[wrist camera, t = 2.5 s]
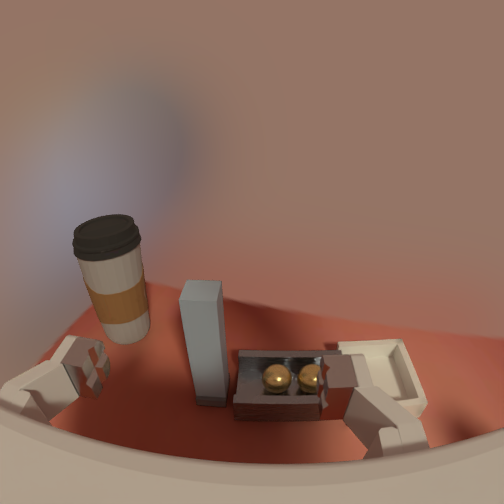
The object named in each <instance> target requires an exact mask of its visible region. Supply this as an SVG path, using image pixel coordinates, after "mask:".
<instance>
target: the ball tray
mask: <svg viewBox="0 0 504 504" xmlns="http://www.w3.org/2000/svg"><path fill="white" fill-rule="evenodd" d="M336 350H341V351H342V354H363V355H364V356H365V359H366V363H367V366H368V369H369V372H370V376H371V379H372V383H373V386H378V387H379V388H380V389H382V390H383V391H384V392H385V393H386V394H388V395H389V396H390V397H391V398H393V399H394V400H395V401H396V402H397V403H399V404H400V405H401V406H402V407H404V408H405V409H406V410H407V411H408V412H410V413H411V414H412V415H413V416H415V417H416V418H417V417H420V415H421V414H422V412H423V410H424V409H425V407H426V405H427V403H428V402H427V399H426V397H425V394H424V391H423V389H422V386H421V384H420V381H419V379H418V376H417V374H416V371H415V369H414V367H413V364H412V362H411V359H410V357H409V355H408V352H407V350H406V348H405V345H404V343H403V341H402V339H389V340H371V341H348V342H338V344H337V349H336Z"/></svg>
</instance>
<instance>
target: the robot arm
mask: <svg viewBox="0 0 504 504" xmlns="http://www.w3.org/2000/svg"><path fill="white" fill-rule="evenodd" d="M104 349H105V347H104V344H103V342H102V341H100V340H95V339H89V338H84V337H77V336H72V335H68V336H66V338H65V339H64V340H63V342H62V343H61V345H60V346H59V348H58V349H57V351H56V352H55V353H54V355H53V356H52V358H51V359H50V361H49V360H46V361H44V362H42V363H41V364H39V365H37V366H35V367H33V368H31V369H30V370H28V371H26V372H24V373H22V374H20V375H19V376H17V377H15V378H14V379H11V380H9V381H8V382H6V383H5V384H4V386H3V387H2V388H1V390H0V504H504V428H501V429H498V430H495V431H492V432H489V433H486V434H482V435H479V436H476V437H473V438H469V439H466V440H462V441H458V442H454V443H451V444H447V445H442V446H438V447H434V448H429V444H428V441H427V438H426V435H425V432H424V429H423V426H422V423H421V421H420V420H418V419H417V418H416V417H415V416H413V415H412V414H411V413H410V412H408V411H407V410H406V409H405V408H404V407H402V406H401V405H400V404H399V403H397V402H396V401H395V400H394V399H393V398H391V397H390V396H389V395H388V394H386V393H385V392H384V391H383V390H382V389H380V388H379V387H378V386H373V383H372V379H371V376H370V372H369V369H368V366H367V363H366V359H365V356H364V355H363V354H342V355H322V356H321V359H320V370H319V371H318V374H317V382H316V390H317V396H318V397H319V398H320V400H319V404H318V408H319V416H320V420H335V419H343V421H344V422H345V423H346V425H347V426H348V427H349V428H350V429H351V430H352V432H353V433H354V434H355V435H356V436H357V437H358V439H359V440H360V441H361V442H362V443H363V444H364V445H365V447H366V448H367V449H368V451H367V453H366V454H365V456H364V458H363V459H362V460H352V461H341V462H327V463H307V464H257V463H236V462H222V461H211V460H202V459H193V458H185V457H178V456H171V455H165V454H159V453H153V452H148V451H143V450H138V449H133V448H128V447H124V446H119V445H115V444H111V443H107V442H103V441H99V440H95V439H92V438H88V437H84V436H81V435H78V434H74V433H71V432H68V431H65V430H62V429H59V428H56V427H53V426H52V425H51V424H50V422H49V421H50V420H51V419H52V418H53V417H55V416H56V415H57V414H58V413H60V412H61V411H62V410H63V409H65V408H66V407H67V406H68V405H70V404H71V403H72V402H73V401H75V400H76V399H77V398H78V397H79V396H82V397H87V398H92V399H97V398H98V396H99V394H100V392H101V390H102V388H103V386H102V382H103V381H105V380H106V379H107V378H108V375H109V372H110V361H109V358H108V356H107V355H106V354H105V353H104V352H103V351H104Z"/></svg>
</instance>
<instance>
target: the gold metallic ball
mask: <svg viewBox="0 0 504 504" xmlns="http://www.w3.org/2000/svg"><path fill="white" fill-rule="evenodd" d="M319 370H320V366H319V365H316V364H308V365H306V366H304V367H302V368H301V369H300V371H299V372H298V375H297V383H298V386H299V387H300V388H301V389H302V390H303V391H305V392H307V393H315V392H317V390H316V382H317V374H318V371H319Z"/></svg>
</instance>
